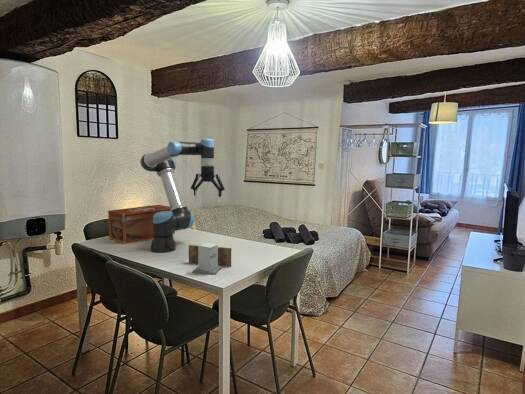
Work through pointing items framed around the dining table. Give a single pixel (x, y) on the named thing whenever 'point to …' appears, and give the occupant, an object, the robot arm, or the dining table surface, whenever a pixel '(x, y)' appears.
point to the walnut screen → (223, 255)
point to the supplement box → (208, 256)
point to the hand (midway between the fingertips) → (207, 201)
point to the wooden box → (133, 223)
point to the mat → (207, 271)
